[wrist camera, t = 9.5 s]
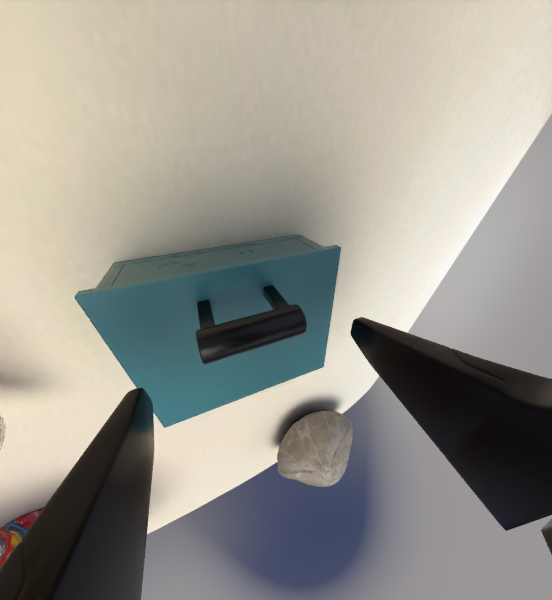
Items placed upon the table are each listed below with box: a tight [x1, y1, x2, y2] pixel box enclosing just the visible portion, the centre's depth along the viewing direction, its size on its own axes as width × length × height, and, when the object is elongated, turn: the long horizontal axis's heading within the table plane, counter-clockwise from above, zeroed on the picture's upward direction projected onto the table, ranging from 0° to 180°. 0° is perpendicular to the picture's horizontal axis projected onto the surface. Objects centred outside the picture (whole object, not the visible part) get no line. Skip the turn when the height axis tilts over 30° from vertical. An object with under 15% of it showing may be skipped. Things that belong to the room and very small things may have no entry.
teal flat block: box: [96, 235, 322, 288], centre depth 17 cm, size 12×15×5 cm
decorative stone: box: [277, 411, 353, 487], centre depth 34 cm, size 15×10×15 cm
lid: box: [75, 245, 341, 428], centre depth 13 cm, size 12×15×5 cm
